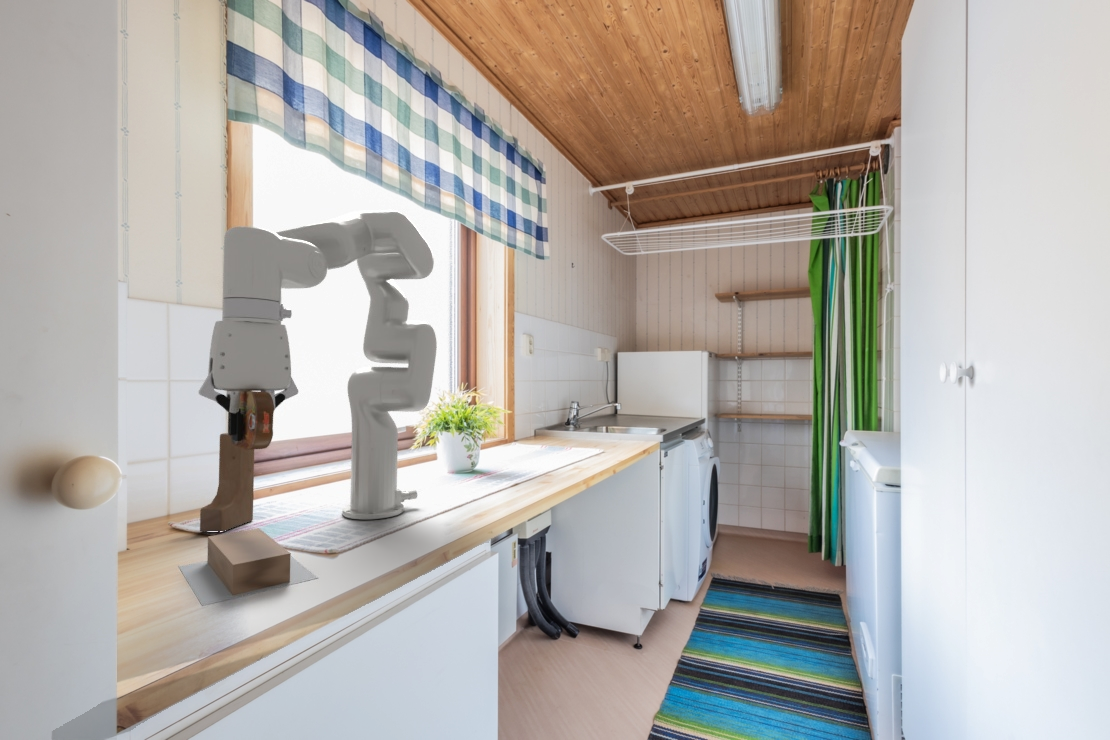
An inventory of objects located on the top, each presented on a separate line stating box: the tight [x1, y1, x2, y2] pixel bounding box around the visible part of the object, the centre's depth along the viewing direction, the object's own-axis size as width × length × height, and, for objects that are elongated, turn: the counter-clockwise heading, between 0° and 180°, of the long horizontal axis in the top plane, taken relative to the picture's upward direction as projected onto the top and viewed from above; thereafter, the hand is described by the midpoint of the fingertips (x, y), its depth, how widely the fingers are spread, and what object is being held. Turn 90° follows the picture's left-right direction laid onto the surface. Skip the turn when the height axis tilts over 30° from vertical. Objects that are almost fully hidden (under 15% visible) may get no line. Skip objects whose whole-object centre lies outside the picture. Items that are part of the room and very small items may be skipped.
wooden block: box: [199, 432, 255, 532], centre depth 104 cm, size 9×4×18 cm, turn 173°
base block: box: [206, 527, 291, 596], centre depth 78 cm, size 7×16×4 cm, turn 43°
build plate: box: [178, 554, 319, 607], centre depth 78 cm, size 14×18×1 cm
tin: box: [230, 391, 275, 450], centre depth 78 cm, size 15×3×8 cm, turn 43°
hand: (249, 438), depth 78 cm, fingers closed on tin, 2 cm apart
